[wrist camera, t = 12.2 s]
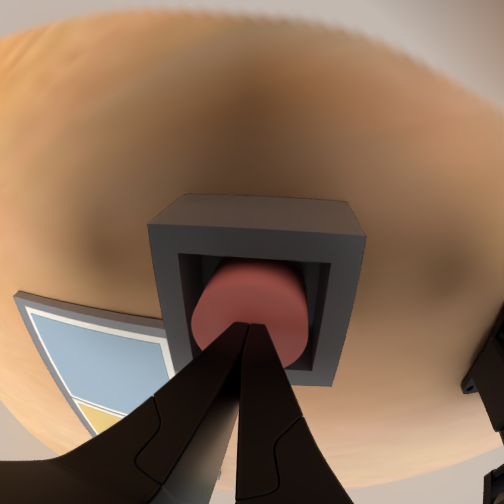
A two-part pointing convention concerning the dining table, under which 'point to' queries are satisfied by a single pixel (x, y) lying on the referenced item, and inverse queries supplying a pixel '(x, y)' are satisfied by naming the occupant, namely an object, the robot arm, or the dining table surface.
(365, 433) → the dining table surface
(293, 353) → the button
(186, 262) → the button housing
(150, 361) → the grey flat rectangular board
